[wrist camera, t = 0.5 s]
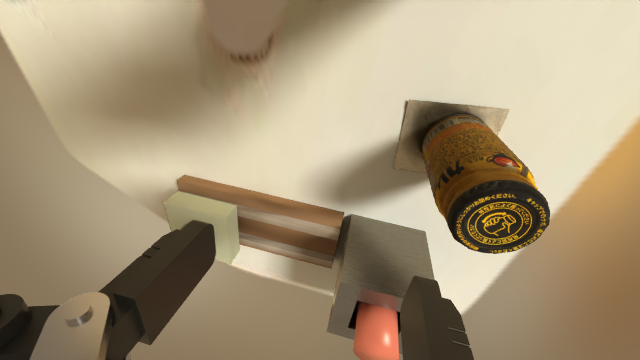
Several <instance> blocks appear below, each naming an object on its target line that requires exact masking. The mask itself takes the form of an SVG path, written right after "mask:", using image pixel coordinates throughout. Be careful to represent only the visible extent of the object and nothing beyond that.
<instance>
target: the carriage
mask: <svg viewBox="0 0 640 360" xmlns="http://www.w3.org/2000/svg"><path fill="white" fill-rule="evenodd" d="M163 203H164V206H165V210H166V214H167V217H168V221H169V225H170V229H171V232H172V231H174V230H176V229H178V230H181V229H182V228H183V227H185V226H186V225H187V224H188V223H189V222H190V221H192V220H197V221H201V222H206V223H210V224H212V225H213V226H214V234H215V245H216V256H215V260H219V261H222V262H226V263H230V264H231V263H232V261H233V260H234V258H235V257H236V255H237V253H238V252H239V250H240V246H239V231H238V217H237V205H233V204H229V203H225V202H221V201H217V200H213V199H209V198H205V197H201V196H196V195H192V194H188V193H184V192H180V191H177V192H176V193H175V194H173V195H172V196H171V197H170V198H168V199H167V200H166V201H165V202H163Z"/></svg>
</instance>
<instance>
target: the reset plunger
mask: <svg viewBox="0 0 640 360" xmlns="http://www.w3.org/2000/svg"><path fill="white" fill-rule="evenodd" d="M354 353H355V354H356V356H357V357H359V358H360V359H361V360H399V344H398V318H397V311H394V310H390V309H387V308H383V307H380V306H376V305H372V304H369V303H365V302H361V301H358V309H357V319H356V329H355V340H354Z"/></svg>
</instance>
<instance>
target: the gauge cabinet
mask: <svg viewBox="0 0 640 360" xmlns="http://www.w3.org/2000/svg"><path fill="white" fill-rule="evenodd" d="M415 275H416V276H420V277H424V278H428V279H432V280H434V275H433V270H432V264H431V259H430V254H429V248H428V243H427V238H426V232H425V231H420V230H416V229H412V228H408V227H403V226H399V225H395V224H391V223H386V222H382V221H378V220H374V219H369V218H365V217H361V216H357V215H352V216H351V220H350V224H349V228H348V232H347V236H346V240H345V244H344V248H343V252H342V257H341V261H340V265H339V271H338V276H337V281H336V286H335V292H334V297H333V302H332V308H331V313H330V318H329V323H328V328H327V332H329V333H333V334H336V335H340V336H343V337H346V338H350V339H353V340H355V329H356V319H357V309H358V301H361V302H365V303H369V304H372V305H376V306H380V307H383V308H387V309H390V310H394V311H397V318H398V344H399V353H401V354H403V353H402V339H401V325H400V310H401V304H402V301H403V299H404V296H405V294H406V292H407V290H408V287H409V285H410V283H411V280H412V278H413V277H414V276H415Z"/></svg>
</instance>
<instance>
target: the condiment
mask: <svg viewBox="0 0 640 360" xmlns="http://www.w3.org/2000/svg"><path fill="white" fill-rule="evenodd" d="M508 112H509V109H501V108H492V107H481V106H473V105H461V104H447V103H439V102H429V101H417V100H409V102H408V106H407V110H406V114H405V118H404V123H403V127H402V131H401V136H400V140H399V145H398V149H397V154H396V158H395V163H394V167H393V168H395V169H401V170H409V171H417V172H423V173H428V177H429V181H430V185H431V190H432V192H433V196H434V199H435V203H436V205H437V207H438V209H439V212H440V213H441V214H442V215H443V216H444V217H445V219H446V222H447V224H448V226H449V229H450V231H451V233H452V236H453V237H454V239H455V240H456V241H458V242H459V243H461V244H462V245H464V246H466V247H467V248H468V249H471V250H474V251H478V252H482V253H493V254H497V253H505V252H512V251H516V250H518V249H521V248H523V247H525V246H527V245H529V244H531V243H532V242H534V241H535V240H537V239H538V238H539V237H540V236H541V234H542V233H543V232H544V230H545V229H546V227H547V226H548V225H549V221H550V219H549V218H550V210H549V206H548V202H547V201H546V198H545V197H544V196H543V195H542V194H541V193H540V192H539V191H538V189H537V187H536V186H535V182H534V178H533V175H532V174H531V172H530V171H529V169H528V168H527V167H526V166H525V164H524V163H523V162H522V161H521V160H520V159H518V157H517V156H516V155H515V154H514V153H513V152H512V151H511V150H510V149H509V148H508V147H507V146H506V145H505V144H504V143H503V142H502V141H501V140H500V138H499V137H498V133H499V131H500V129H501V127H502V125H503V123H504V121H505V119H506V116H507V114H508Z"/></svg>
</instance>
